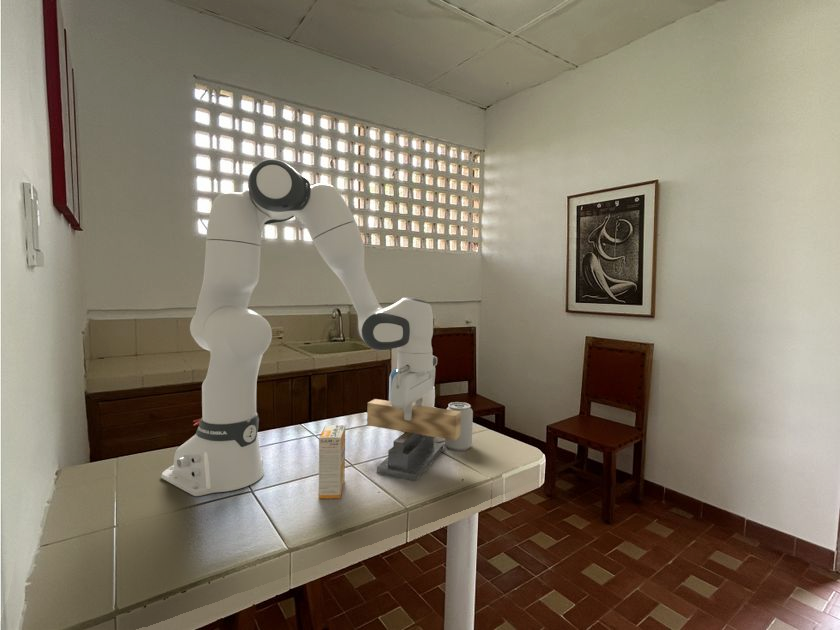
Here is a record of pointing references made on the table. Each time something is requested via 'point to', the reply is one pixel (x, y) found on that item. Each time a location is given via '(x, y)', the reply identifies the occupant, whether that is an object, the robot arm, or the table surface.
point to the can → (462, 427)
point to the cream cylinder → (429, 399)
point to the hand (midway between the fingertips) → (413, 416)
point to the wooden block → (415, 419)
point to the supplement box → (331, 461)
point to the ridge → (410, 456)
